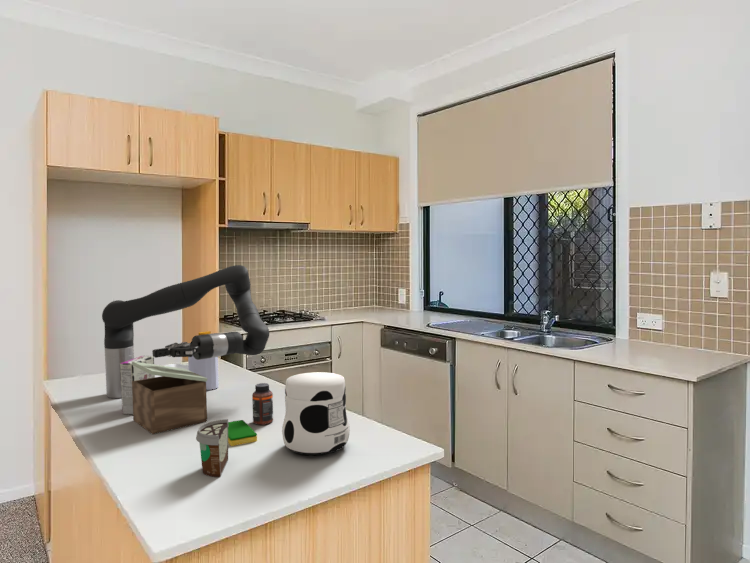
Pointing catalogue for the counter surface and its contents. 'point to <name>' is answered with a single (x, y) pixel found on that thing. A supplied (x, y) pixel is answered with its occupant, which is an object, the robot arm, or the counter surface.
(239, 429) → the dish sponge
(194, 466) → the counter surface
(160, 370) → the lid
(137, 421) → the walnut box
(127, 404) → the candy bar box
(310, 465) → the counter surface
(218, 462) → the food container
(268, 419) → the supplement bottle
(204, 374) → the soap bottle
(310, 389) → the milk container
